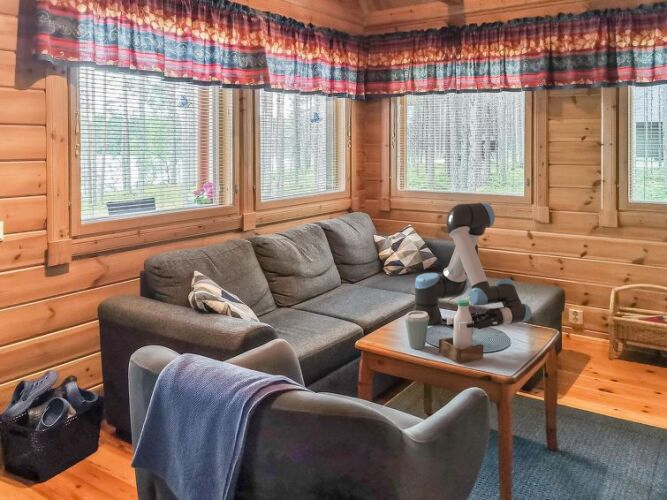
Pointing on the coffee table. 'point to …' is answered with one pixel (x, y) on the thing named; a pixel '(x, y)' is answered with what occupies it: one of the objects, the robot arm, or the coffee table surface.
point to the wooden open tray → (460, 351)
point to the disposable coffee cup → (417, 328)
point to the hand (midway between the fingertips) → (453, 323)
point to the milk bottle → (465, 335)
